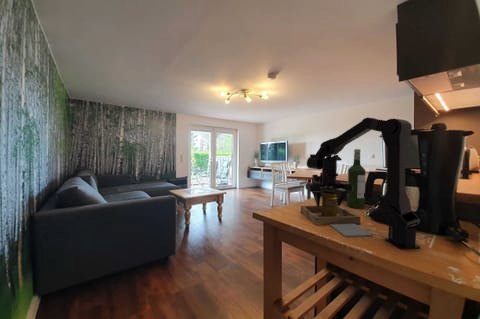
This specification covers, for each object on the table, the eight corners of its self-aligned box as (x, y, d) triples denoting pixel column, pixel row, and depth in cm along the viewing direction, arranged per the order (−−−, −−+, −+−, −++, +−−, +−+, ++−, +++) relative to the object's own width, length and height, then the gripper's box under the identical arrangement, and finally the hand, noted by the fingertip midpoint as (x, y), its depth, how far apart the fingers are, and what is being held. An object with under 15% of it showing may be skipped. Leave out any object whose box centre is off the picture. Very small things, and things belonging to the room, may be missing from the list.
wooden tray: (360, 224, 80) (360, 216, 80) (316, 225, 79) (316, 218, 78) (337, 211, 96) (337, 205, 96) (300, 212, 95) (300, 206, 95)
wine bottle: (351, 203, 110) (353, 149, 108) (367, 207, 103) (369, 149, 102) (344, 206, 105) (345, 149, 103) (360, 209, 99) (362, 149, 97)
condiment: (340, 217, 88) (340, 190, 87) (332, 222, 82) (333, 193, 81) (323, 213, 93) (324, 188, 92) (315, 218, 87) (316, 191, 87)
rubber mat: (372, 236, 69) (372, 234, 69) (345, 237, 68) (345, 235, 68) (354, 225, 79) (354, 223, 79) (329, 225, 78) (329, 224, 78)
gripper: (339, 168, 95) (338, 200, 96) (301, 168, 94) (300, 201, 94) (354, 171, 84) (353, 207, 85) (311, 171, 82) (310, 208, 83)
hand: (328, 206), depth 87 cm, fingers open, 9 cm apart
